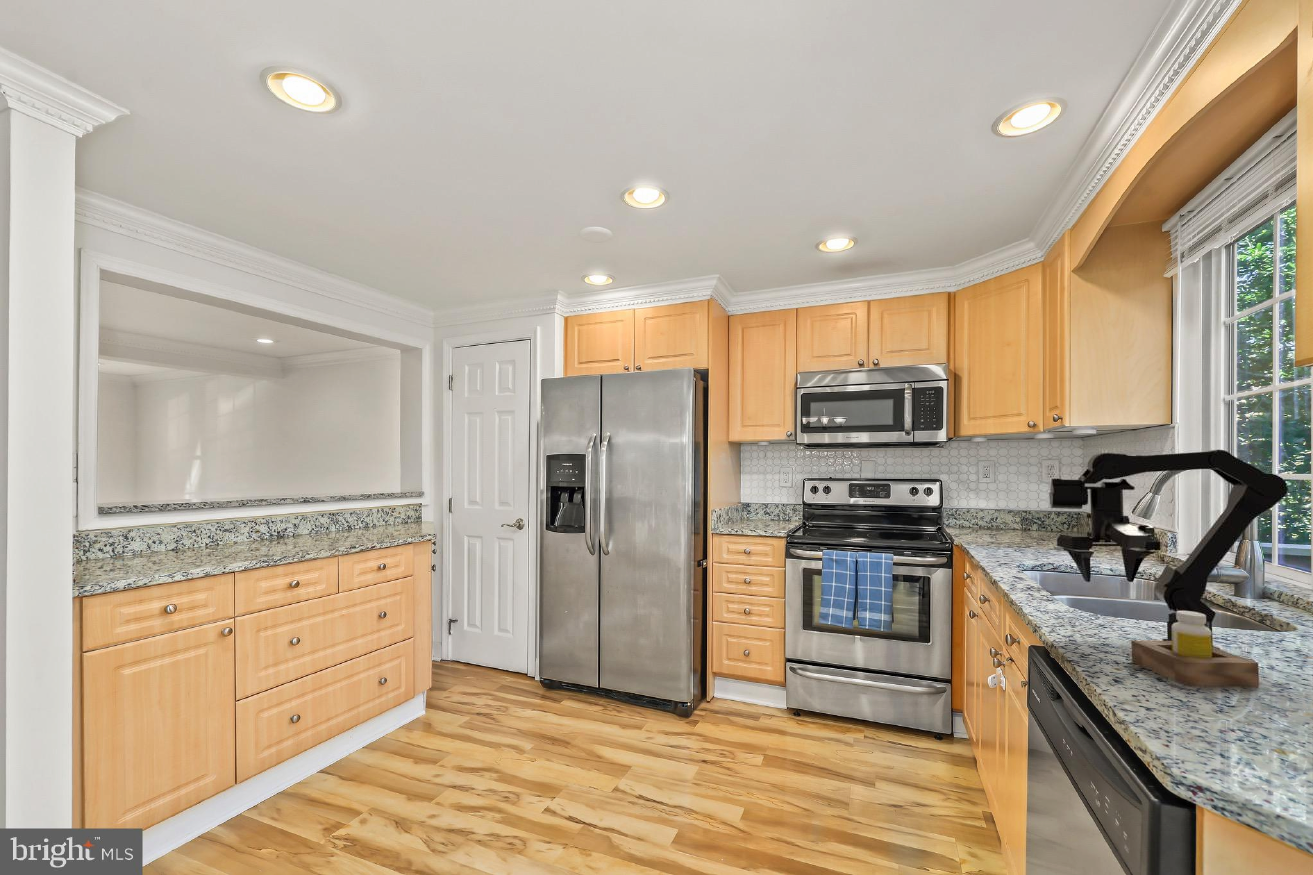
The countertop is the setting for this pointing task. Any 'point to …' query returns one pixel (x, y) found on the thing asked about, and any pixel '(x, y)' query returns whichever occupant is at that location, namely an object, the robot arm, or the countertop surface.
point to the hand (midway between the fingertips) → (1108, 581)
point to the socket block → (1196, 665)
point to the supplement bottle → (1191, 635)
